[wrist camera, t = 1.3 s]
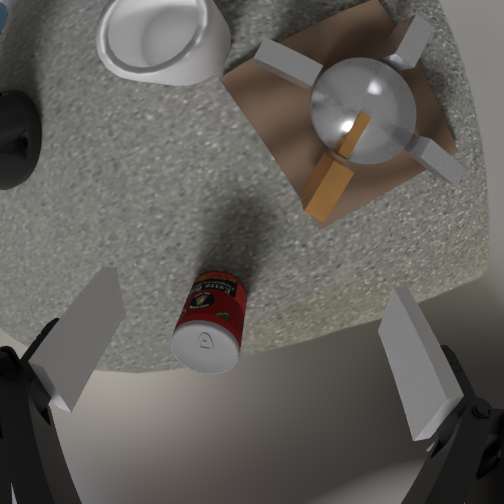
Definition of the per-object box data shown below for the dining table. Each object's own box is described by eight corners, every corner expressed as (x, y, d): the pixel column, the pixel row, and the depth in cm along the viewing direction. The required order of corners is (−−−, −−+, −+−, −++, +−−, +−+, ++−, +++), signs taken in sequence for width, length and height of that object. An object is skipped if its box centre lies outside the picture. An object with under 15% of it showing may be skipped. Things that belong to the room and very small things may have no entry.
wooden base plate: (221, 79, 29) (214, 76, 25) (372, 1, 23) (383, -9, 19) (317, 224, 36) (322, 238, 32) (451, 149, 30) (468, 155, 26)
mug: (139, -6, 24) (94, -33, 14) (225, -25, 23) (206, -67, 13) (147, 94, 30) (99, 94, 20) (235, 78, 29) (219, 67, 19)
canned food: (240, 265, 39) (229, 321, 29) (252, 314, 43) (246, 373, 33) (184, 272, 40) (159, 326, 31) (201, 319, 44) (184, 375, 34)
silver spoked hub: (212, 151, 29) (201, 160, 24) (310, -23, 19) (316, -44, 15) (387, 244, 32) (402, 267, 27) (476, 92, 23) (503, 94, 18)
